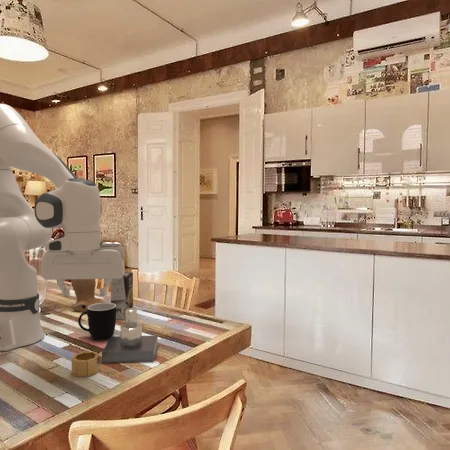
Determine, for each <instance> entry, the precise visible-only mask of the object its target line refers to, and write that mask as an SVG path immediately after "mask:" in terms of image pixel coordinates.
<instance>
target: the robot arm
mask: <svg viewBox="0 0 450 450" xmlns="http://www.w3.org/2000/svg"><path fill="white" fill-rule="evenodd" d="M12 168H15V169H16V170H17V169H18V170H21V171H24V172H25V171H26V172H30V173H33V174H35V175H39V176H41V177H43V178H45V179H47V180H49V181H50V182H52V184H53V185H54V186H55V187H56V189H53V190H51V191H47V192H44V193H42V194H40V195H39V196H38V198H36V200H35V203H34V209H33V207H32V206H31V205H30V204H29V202H28V200H27V199H26V198H25V196H24V195H23V193H22V192H21V189H20V187H19V184H18V182H17V180H16V179H17V178H16V177H15V174H14V172H13V169H12ZM102 210H103V207H102V204H101V195H100V189H99V187H98V185H97V183H96V182H94V180H89V179H86V178H85V179H84V178H78V177H77V176H76V175H75V174H74V172H73V171H72V170H71V168H69V167H68V165H67V164H66V163H65V162H64V161H63V160H62V159H61V158H60V157H59V156H58V154H56V153H55V152H53V151H52V150H51V149H50V148H49V147H47V146H46V145H45V144H44V143H43V142H42V140H41V139H39V137H38V136H37V135H36V134H35V133H34V131H33V129H32V128H31V126H30V125H29V124H28V122H27V120H26V118H25V116H24V115H23V114H22V113H20V112H19V111H17V110H16V109H15V108H13V107H12V106H11V105H8V104H6V103H0V352H1V351H2V352H3V351H4V352H6V351H7V352H8V351H11V350H14V349H16V348H21V347H25V346H28V345H29V346H30V345H32V344H35V343H37V342H39V341H41V340H43V339H44V337H45V333H44V331H43V327H42V323H41V318H40V313H39V312H40V306H41V303H40V302H41V301H40V294H39V292H38V273H37V269H36V268H35V266H33V265H32V264H29V262H28V261H27V259H26V256H25V255H26V254H25V251H30V250H35V249H37V248H40V247H43V246H44V251H45V253H43V256H42V259H41V266H40V267H41V271H40V274H41V277H42V278H43V279H44V280H45V281H51V280H54V281H55V280H56V285H57V287H58V288H59V289H60V290H61V297H63V298H68V297H70V296H71V293H70V291H71V290H70V289H71V288H67V287H66V285H65V282H66V280H71V279H95V280H103V283H104V287H101V288H100V289H99V296H100V297H106V296H107V295H108V288H109V286H110V285H111V279H120V278H121V277H122V276H123V275H124V274H125V272H126V269H125V261H124V258H125V257H126V248H125V246H124V245H123V244H121V243H120V242H117V241H116V242H108V241H107V242H106V241H105V242H104V241H103V242H102V227H101V224H100V223H101V222H100V218H101V216H102ZM53 229H64V231H63V232H64V236H61V237H58V238H56V239H53V240H51V239H52V235H53Z"/></svg>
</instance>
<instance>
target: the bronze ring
mask: <svg viewBox="0 0 450 450" xmlns="http://www.w3.org/2000/svg"><path fill="white" fill-rule="evenodd" d="M100 367H101V366H100V353H98V352H97V351H93V350H91V351H82V352H78V353H76V354H73V356H72V357H71V375H73V376H75V377H76V378H88V377H91V376H93V375H96V374H98V372H99V370H100V369H101V368H100Z"/></svg>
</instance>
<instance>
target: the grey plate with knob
mask: <svg viewBox="0 0 450 450" xmlns="http://www.w3.org/2000/svg"><path fill="white" fill-rule="evenodd" d="M124 321H125V323H124V324H122V325H121V326H120V336H119V335H118V336H117V335H115V336H114V335H113V336H111V338H110V339H108V341H107V343H106V344H105V346H104V348H103V350H102V351H101V363H102V364H104V363H105V364H106V363H107V364H109V363H111V364H113V363H114V364H115V363H144V362H146V363H149V362H150V363H151V362H152V363H153V362H154V361H155V357H156V353H157V350H158V345H159V344H158V343H159V341H158V337H159V335H143V328H142V327H143V326H142V324H140V323H138V310H137V308H135V307H133V308H128V309H126V310H125V320H124Z"/></svg>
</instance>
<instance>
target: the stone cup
mask: <svg viewBox="0 0 450 450" xmlns="http://www.w3.org/2000/svg"><path fill="white" fill-rule="evenodd" d="M70 284H71V287H72V289H73V292H74V294H75V297H76V301H75V303H74V304H73V307H72V309H73V310H76V311H78V312H81V313H84V312H86V311H87V307H88V306H90V305H92V304H97V303H102V302H103V300H102V298H97V297H96V296H95V293H96V291H95V290H96V285H97V283H96V279H70Z"/></svg>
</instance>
